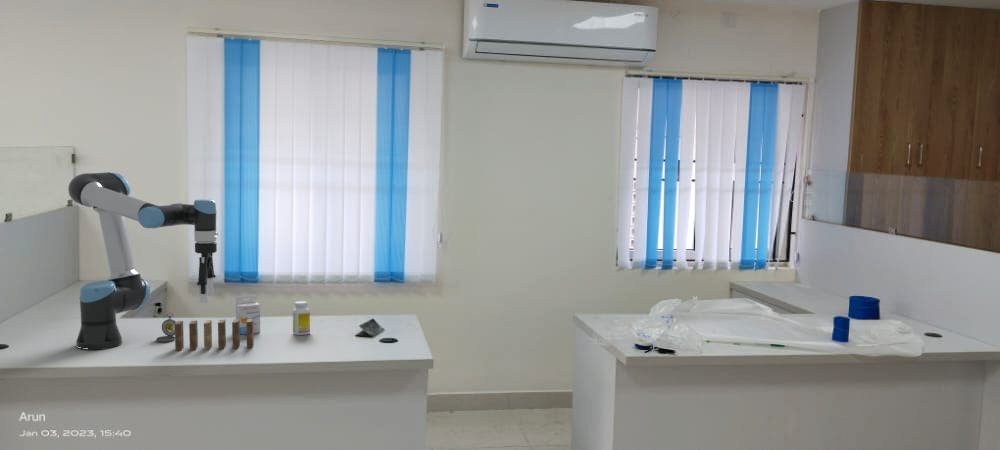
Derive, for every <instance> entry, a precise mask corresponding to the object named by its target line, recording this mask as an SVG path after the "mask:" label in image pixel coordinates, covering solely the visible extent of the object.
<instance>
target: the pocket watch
mask: <svg viewBox="0 0 1000 450" xmlns="http://www.w3.org/2000/svg"><path fill="white" fill-rule="evenodd" d="M170 314H171V315H170ZM166 316H167V318H168V319H165V320H164V321H163V322H162V324H161V330H162V333H164V335H162V336H159V337H156V339H155V340H156V342H160V343H167V342H172V341H175V323H176V322H177V321H176V320H174V319H172V317H174V313H171V312H168V313H166Z"/></svg>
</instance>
